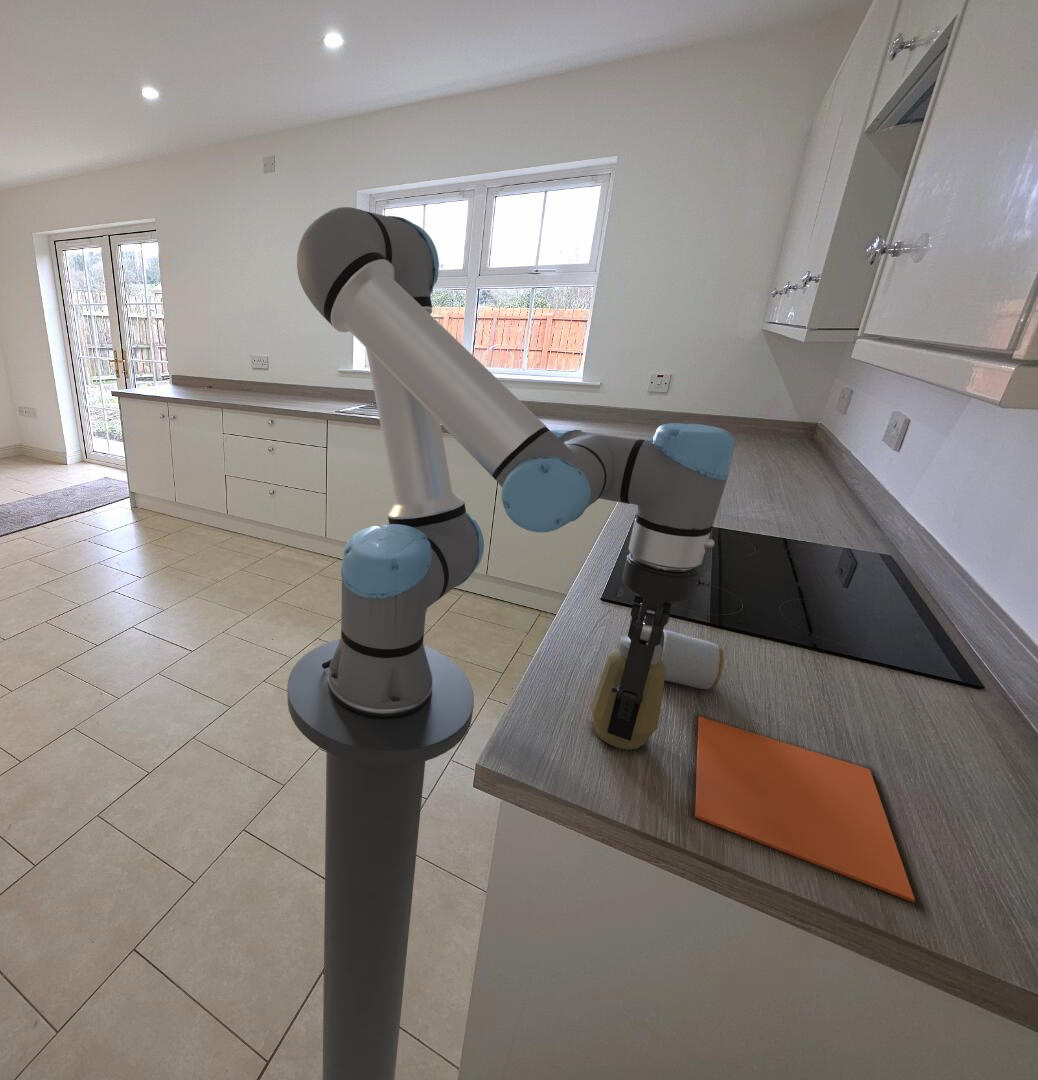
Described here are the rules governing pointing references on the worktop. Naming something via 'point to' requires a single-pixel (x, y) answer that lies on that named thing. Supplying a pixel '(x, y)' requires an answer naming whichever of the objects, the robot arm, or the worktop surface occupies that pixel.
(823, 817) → the napkin
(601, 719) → the squeeze bottle
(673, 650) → the ceramic mug
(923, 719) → the worktop surface
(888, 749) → the worktop surface
